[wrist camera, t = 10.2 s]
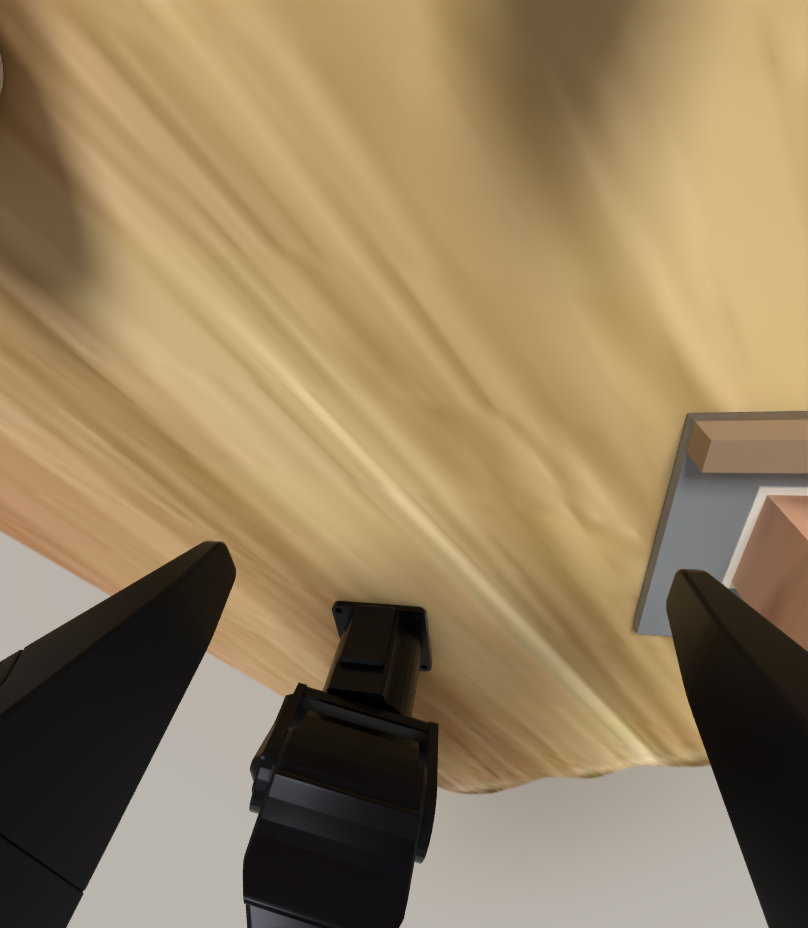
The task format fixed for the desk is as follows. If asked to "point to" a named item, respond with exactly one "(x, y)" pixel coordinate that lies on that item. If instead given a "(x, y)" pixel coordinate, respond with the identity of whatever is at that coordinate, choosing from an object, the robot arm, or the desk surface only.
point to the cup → (1, 74)
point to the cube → (778, 566)
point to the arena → (720, 498)
